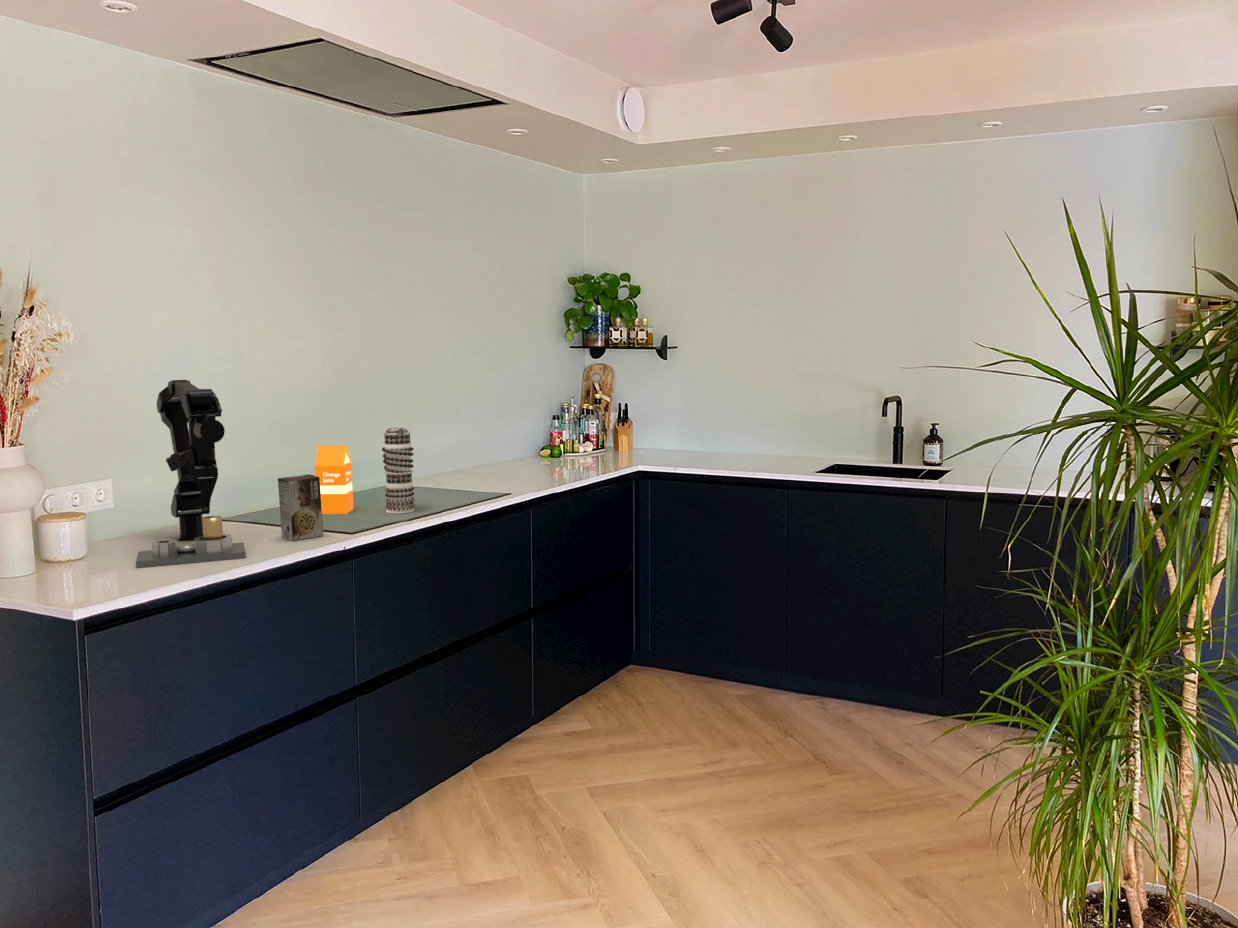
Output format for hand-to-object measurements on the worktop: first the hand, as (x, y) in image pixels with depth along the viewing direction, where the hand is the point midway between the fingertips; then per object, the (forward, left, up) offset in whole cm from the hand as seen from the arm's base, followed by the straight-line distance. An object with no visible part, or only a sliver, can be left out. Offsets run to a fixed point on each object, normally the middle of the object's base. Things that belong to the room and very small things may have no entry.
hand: (206, 501), depth 256 cm
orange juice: (-39, +36, -12) cm, 54 cm away
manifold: (+10, -4, -12) cm, 16 cm away
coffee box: (-4, +23, -12) cm, 26 cm away
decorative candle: (-31, +54, -12) cm, 63 cm away
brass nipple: (+10, +1, -10) cm, 14 cm away
